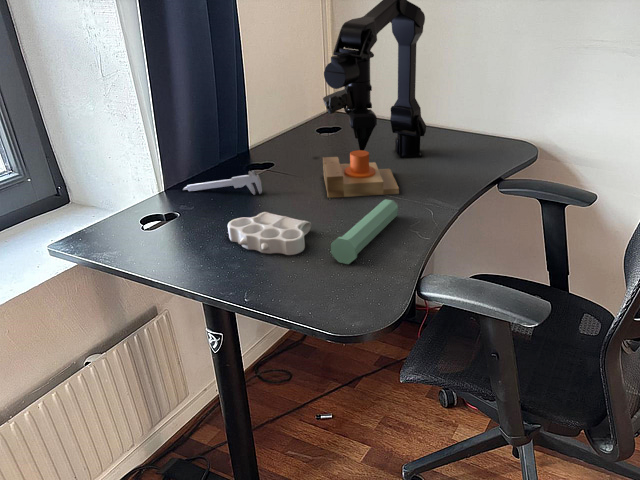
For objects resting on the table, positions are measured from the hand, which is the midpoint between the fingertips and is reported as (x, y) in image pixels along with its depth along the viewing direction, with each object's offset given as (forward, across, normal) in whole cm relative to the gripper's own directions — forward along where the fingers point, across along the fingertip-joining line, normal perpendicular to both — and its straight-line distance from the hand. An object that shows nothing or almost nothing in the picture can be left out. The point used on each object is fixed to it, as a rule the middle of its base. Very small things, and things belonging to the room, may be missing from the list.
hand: (359, 144), depth 154 cm
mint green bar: (+11, +31, -2) cm, 33 cm away
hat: (+7, 0, 0) cm, 7 cm away
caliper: (+11, 0, -35) cm, 37 cm away
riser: (+11, 0, 0) cm, 11 cm away
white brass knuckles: (+11, +28, -23) cm, 38 cm away
